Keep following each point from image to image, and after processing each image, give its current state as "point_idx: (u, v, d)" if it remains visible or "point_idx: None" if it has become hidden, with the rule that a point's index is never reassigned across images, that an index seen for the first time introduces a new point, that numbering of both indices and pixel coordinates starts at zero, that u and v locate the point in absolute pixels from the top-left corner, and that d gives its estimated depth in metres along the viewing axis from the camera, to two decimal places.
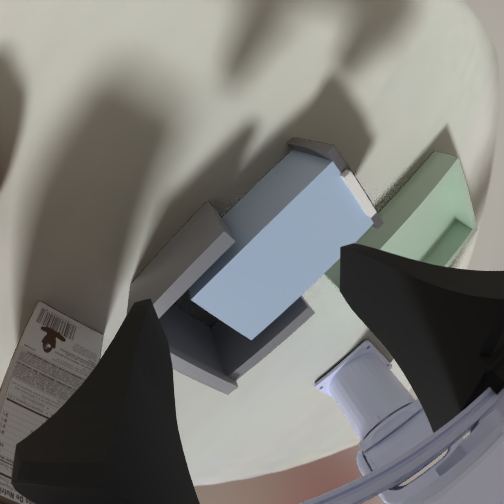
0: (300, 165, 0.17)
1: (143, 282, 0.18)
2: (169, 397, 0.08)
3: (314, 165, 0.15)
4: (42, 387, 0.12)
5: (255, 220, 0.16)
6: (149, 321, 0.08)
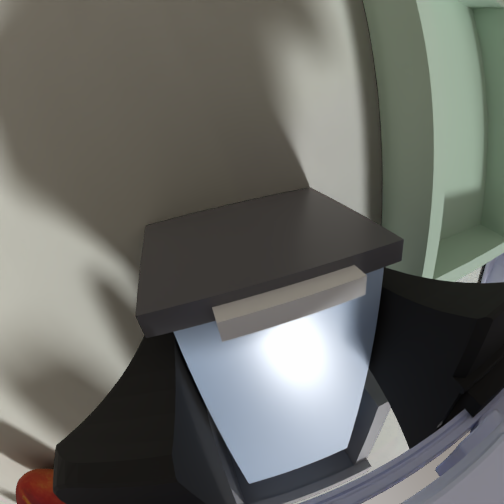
0: None
1: None
2: None
3: None
4: None
5: None
6: None
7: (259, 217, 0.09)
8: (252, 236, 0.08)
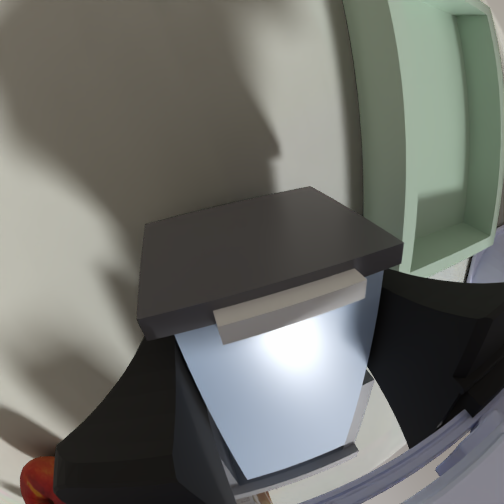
0: None
1: None
2: None
3: None
4: None
5: None
6: None
7: (259, 217, 0.09)
8: (252, 237, 0.08)
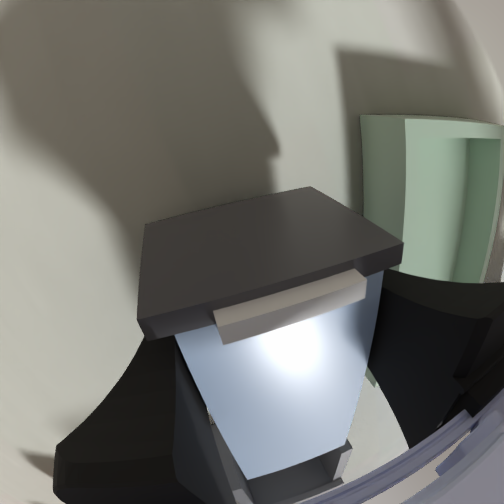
0: None
1: None
2: None
3: None
4: None
5: None
6: None
7: (259, 217, 0.09)
8: (253, 237, 0.08)
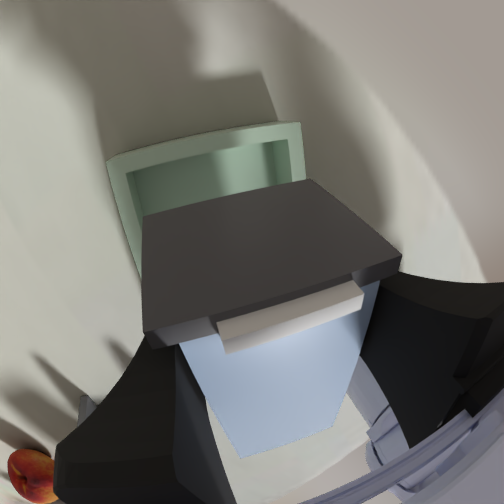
0: None
1: None
2: (200, 390, 0.08)
3: None
4: None
5: None
6: None
7: (259, 215, 0.09)
8: (253, 240, 0.08)
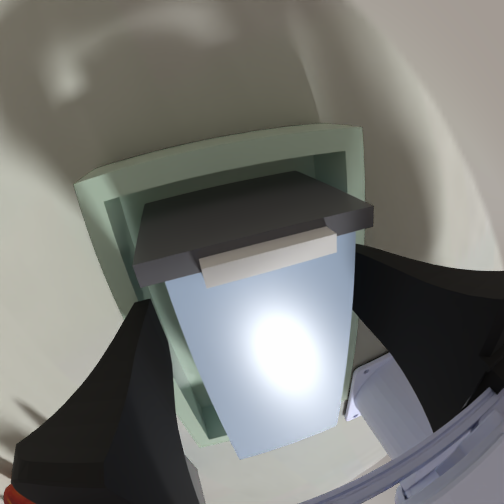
0: None
1: None
2: (169, 397, 0.08)
3: None
4: None
5: None
6: (149, 321, 0.08)
7: (246, 193, 0.10)
8: (238, 206, 0.09)
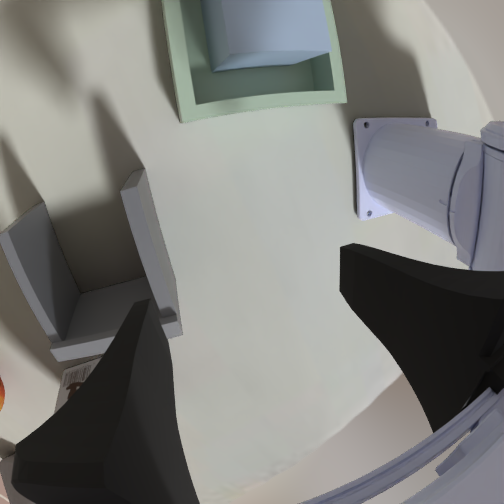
0: None
1: None
2: (169, 397, 0.08)
3: None
4: None
5: None
6: (149, 321, 0.08)
7: None
8: None
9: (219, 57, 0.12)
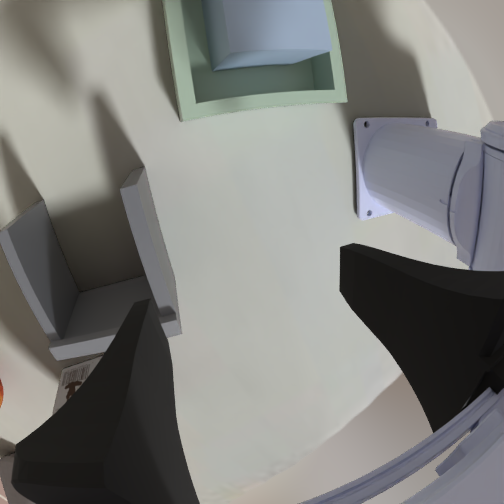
0: None
1: None
2: (169, 397, 0.08)
3: None
4: None
5: None
6: (149, 321, 0.08)
7: None
8: None
9: (220, 56, 0.12)
